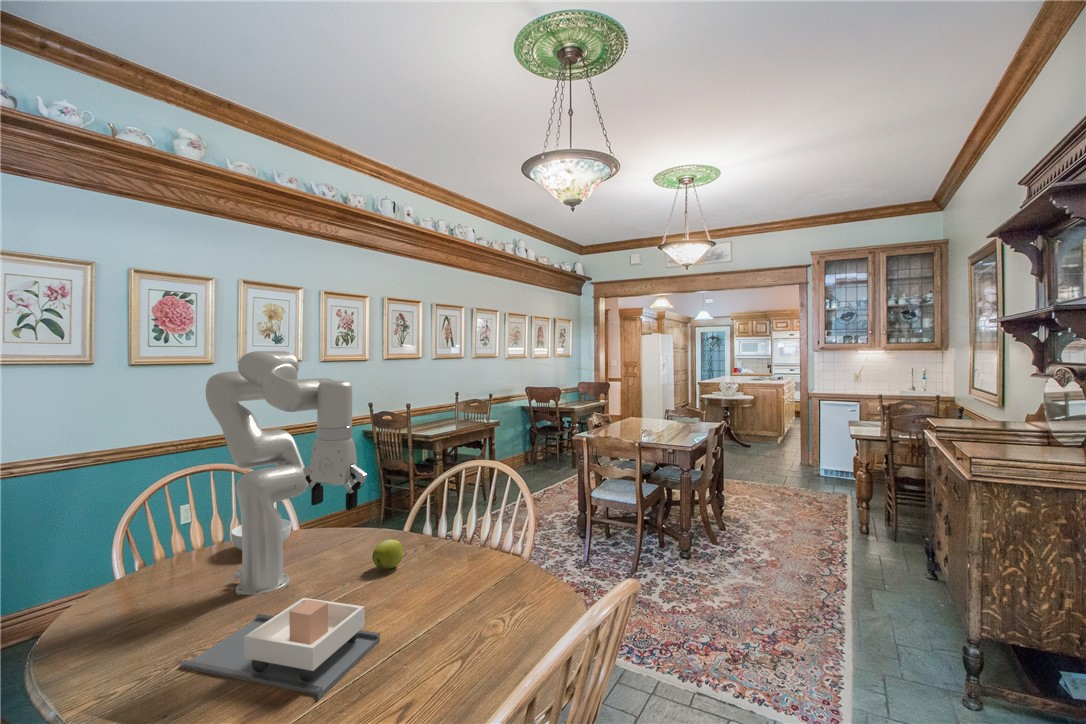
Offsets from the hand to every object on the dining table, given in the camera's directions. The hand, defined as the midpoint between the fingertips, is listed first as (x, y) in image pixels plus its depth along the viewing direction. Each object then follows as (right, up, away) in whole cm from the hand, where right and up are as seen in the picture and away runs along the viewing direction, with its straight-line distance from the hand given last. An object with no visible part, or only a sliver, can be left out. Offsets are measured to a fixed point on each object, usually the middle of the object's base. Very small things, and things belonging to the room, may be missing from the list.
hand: (334, 506), depth 117 cm
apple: (+4, -26, +28) cm, 38 cm away
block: (+2, -22, -16) cm, 27 cm away
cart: (+1, -26, -16) cm, 30 cm away
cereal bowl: (-41, -26, +43) cm, 65 cm away
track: (-4, -27, -14) cm, 31 cm away
